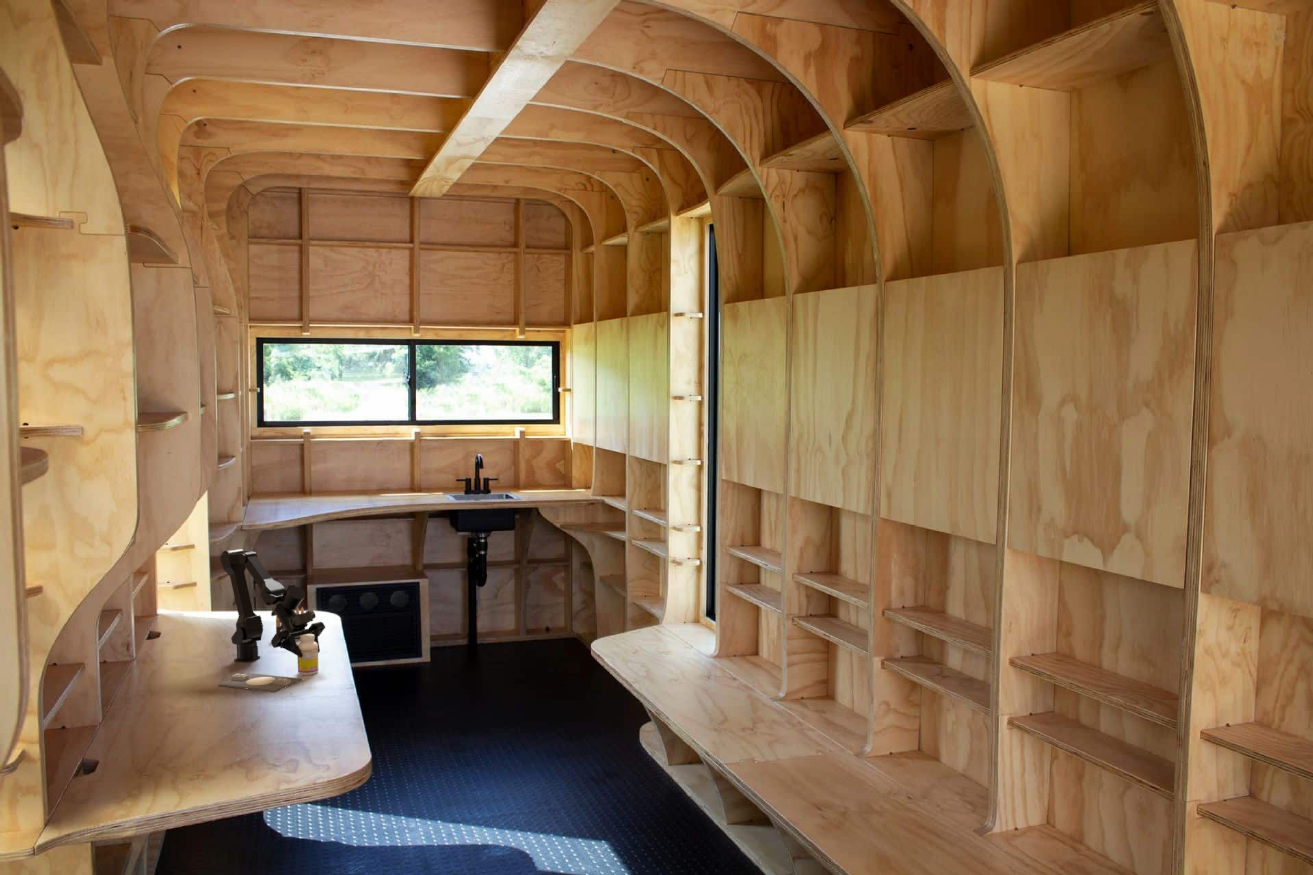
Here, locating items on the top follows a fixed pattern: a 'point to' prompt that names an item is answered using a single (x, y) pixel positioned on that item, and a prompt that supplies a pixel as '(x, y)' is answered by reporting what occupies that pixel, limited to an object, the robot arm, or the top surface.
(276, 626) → the ammunition clip
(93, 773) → the top surface
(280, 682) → the curved gray panel
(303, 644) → the supplement bottle
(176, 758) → the top surface
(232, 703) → the top surface
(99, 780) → the top surface
